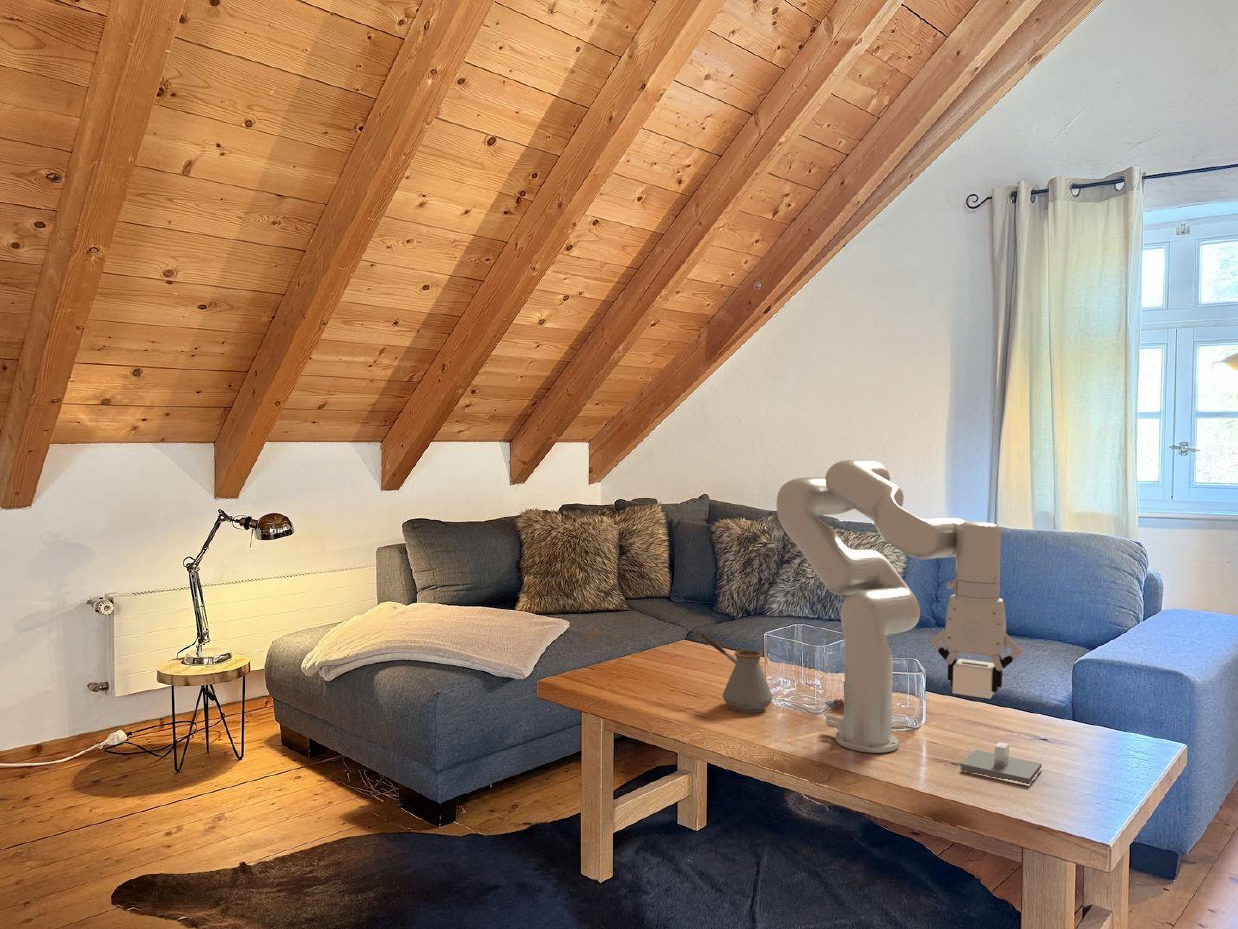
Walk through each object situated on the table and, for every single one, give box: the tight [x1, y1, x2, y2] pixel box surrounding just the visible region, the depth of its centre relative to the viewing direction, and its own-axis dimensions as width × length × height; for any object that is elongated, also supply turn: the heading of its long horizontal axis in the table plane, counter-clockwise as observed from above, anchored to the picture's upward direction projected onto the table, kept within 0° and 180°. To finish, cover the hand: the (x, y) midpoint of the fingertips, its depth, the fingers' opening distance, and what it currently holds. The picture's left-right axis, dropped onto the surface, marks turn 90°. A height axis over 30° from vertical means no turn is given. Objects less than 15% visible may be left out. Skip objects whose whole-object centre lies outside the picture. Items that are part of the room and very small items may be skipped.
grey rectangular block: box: [994, 741, 1010, 767], centre depth 170 cm, size 2×3×4 cm, turn 143°
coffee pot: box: [697, 632, 773, 714], centre depth 212 cm, size 21×12×15 cm, turn 41°
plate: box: [960, 749, 1043, 784], centre depth 170 cm, size 12×10×2 cm
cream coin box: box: [952, 658, 995, 700], centre depth 164 cm, size 6×6×5 cm
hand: (974, 686), depth 164 cm, fingers closed on cream coin box, 6 cm apart
